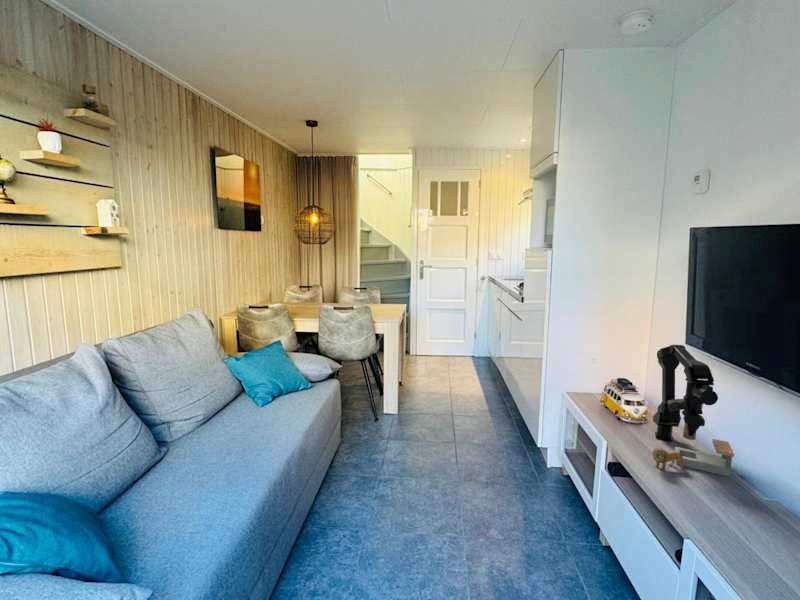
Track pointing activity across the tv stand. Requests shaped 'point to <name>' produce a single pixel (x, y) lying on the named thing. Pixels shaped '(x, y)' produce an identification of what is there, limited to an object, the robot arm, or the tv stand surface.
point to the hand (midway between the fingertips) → (689, 433)
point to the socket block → (703, 461)
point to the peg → (685, 433)
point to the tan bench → (724, 451)
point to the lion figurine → (667, 457)
